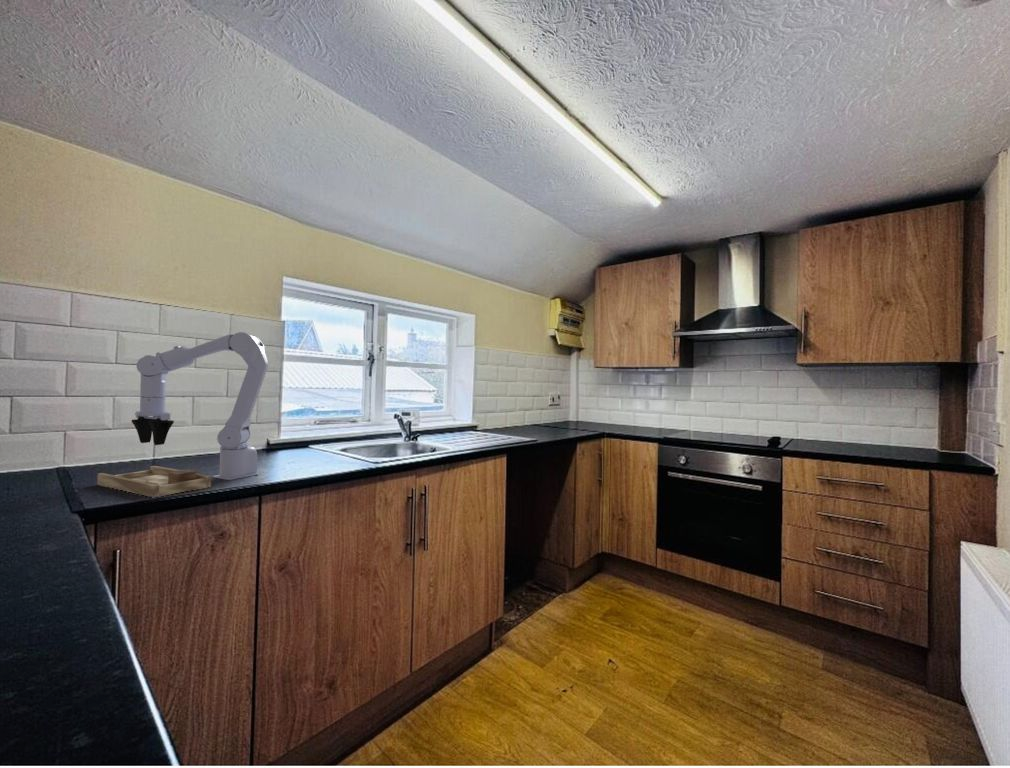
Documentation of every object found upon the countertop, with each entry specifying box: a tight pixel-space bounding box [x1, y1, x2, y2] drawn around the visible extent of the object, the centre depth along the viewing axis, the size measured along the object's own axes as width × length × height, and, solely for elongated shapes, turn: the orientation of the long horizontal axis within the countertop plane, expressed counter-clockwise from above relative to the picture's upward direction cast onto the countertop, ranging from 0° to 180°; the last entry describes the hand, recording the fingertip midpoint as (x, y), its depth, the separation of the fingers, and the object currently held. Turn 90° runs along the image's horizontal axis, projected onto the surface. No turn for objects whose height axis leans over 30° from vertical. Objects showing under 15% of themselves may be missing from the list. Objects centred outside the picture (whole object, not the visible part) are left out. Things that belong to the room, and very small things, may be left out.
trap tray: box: [96, 465, 212, 497], centre depth 117 cm, size 13×28×3 cm, turn 64°
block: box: [168, 469, 197, 484], centre depth 115 cm, size 4×4×3 cm
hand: (152, 443), depth 125 cm, fingers open, 7 cm apart
